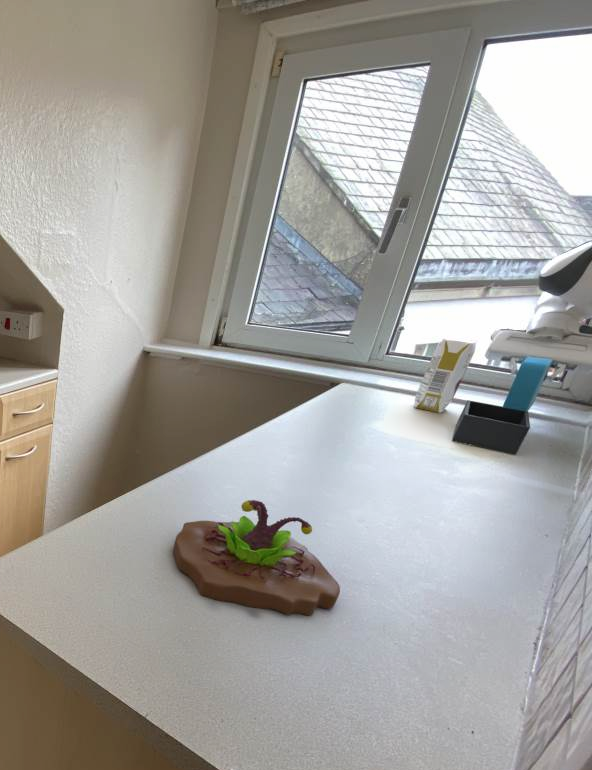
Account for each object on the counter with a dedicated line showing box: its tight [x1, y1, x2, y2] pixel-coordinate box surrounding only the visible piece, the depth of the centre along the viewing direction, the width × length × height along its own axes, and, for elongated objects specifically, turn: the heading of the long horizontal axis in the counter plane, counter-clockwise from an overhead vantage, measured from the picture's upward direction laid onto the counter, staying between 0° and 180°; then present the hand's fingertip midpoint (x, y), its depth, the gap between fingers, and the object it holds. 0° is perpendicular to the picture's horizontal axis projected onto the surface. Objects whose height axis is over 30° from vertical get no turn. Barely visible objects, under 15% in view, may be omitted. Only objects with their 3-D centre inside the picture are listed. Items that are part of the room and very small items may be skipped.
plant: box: [172, 499, 341, 616], centre depth 76 cm, size 20×20×11 cm
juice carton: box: [413, 335, 477, 414], centre depth 148 cm, size 8×9×19 cm
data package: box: [502, 357, 553, 412], centre depth 135 cm, size 12×4×12 cm, turn 130°
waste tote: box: [451, 400, 531, 456], centre depth 130 cm, size 11×16×7 cm
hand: (531, 377), depth 136 cm, fingers closed on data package, 5 cm apart
